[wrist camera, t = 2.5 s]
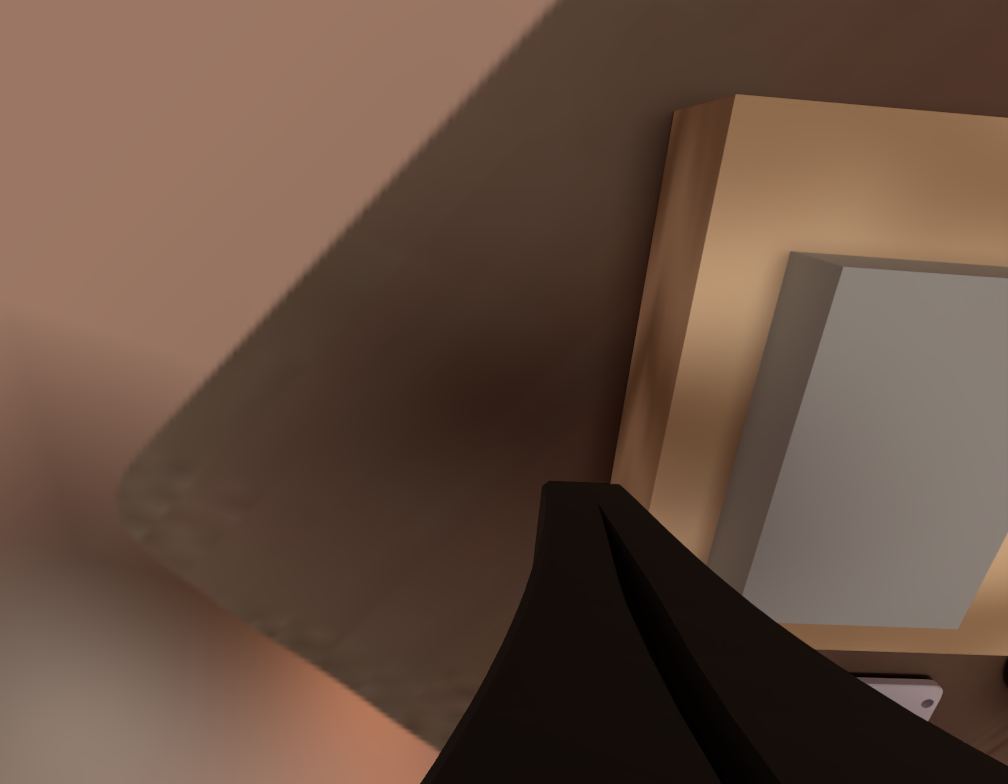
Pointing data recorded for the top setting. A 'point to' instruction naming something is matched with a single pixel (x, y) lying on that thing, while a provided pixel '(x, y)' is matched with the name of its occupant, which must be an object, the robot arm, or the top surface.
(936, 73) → the top surface
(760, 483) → the grey rectangular block
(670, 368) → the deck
